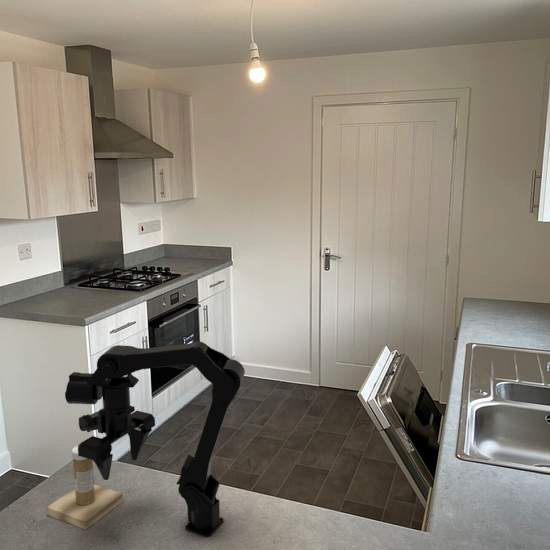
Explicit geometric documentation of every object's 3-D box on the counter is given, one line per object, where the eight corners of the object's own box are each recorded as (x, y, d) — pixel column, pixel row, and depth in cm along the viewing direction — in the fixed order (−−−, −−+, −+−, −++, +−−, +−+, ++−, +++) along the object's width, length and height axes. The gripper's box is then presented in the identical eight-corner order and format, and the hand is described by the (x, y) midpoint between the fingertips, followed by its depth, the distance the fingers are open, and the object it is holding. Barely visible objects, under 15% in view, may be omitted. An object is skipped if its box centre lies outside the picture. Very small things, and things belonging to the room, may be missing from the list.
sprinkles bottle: (78, 495, 131) (74, 443, 128) (97, 494, 131) (94, 442, 129) (73, 506, 126) (69, 453, 124) (93, 505, 127) (89, 452, 124)
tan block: (122, 501, 132) (122, 493, 131) (85, 529, 121) (85, 521, 121) (86, 488, 137) (85, 481, 137) (47, 515, 126) (46, 507, 126)
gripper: (118, 383, 131) (121, 443, 133) (56, 413, 114) (61, 481, 117) (155, 391, 126) (158, 453, 129) (96, 424, 109) (100, 494, 112)
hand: (120, 469), depth 122 cm, fingers open, 9 cm apart
